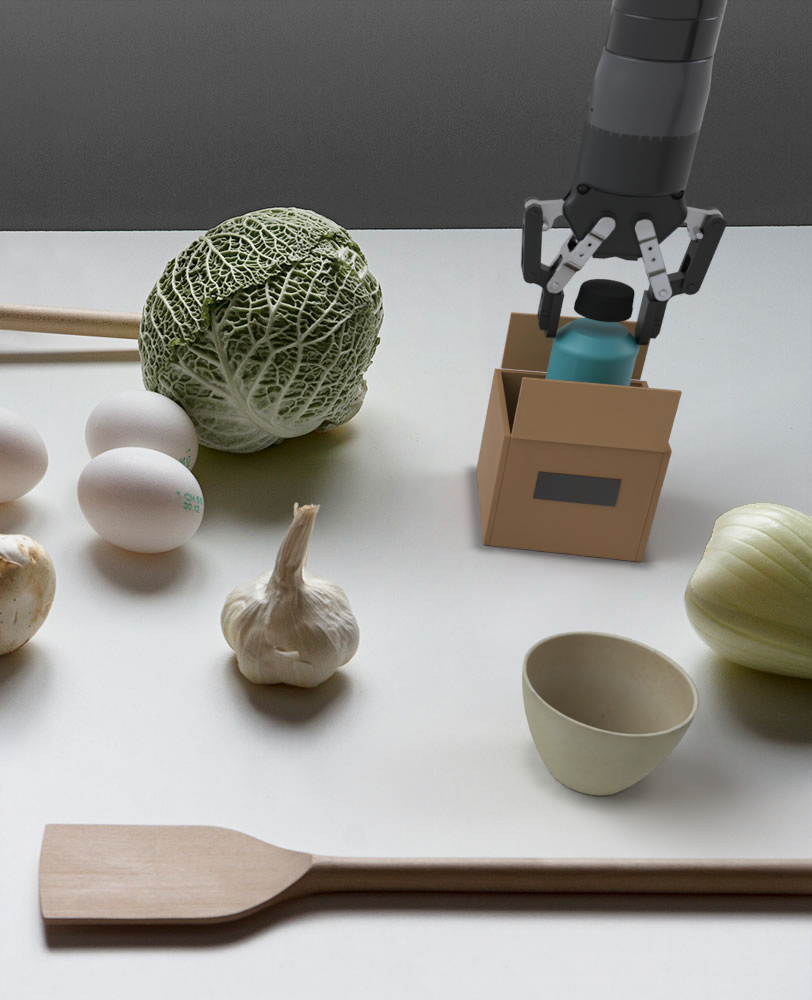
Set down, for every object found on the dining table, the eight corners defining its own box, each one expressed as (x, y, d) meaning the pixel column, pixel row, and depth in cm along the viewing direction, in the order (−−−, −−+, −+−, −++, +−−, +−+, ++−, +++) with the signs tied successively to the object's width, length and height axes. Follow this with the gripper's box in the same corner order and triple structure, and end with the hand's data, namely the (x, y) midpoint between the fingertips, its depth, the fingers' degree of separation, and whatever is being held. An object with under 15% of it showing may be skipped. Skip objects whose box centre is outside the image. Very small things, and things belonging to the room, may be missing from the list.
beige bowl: (657, 727, 85) (683, 640, 81) (683, 837, 77) (714, 747, 73) (499, 705, 87) (517, 620, 83) (508, 811, 79) (529, 721, 75)
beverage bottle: (598, 539, 104) (658, 307, 93) (512, 523, 106) (561, 295, 95) (600, 500, 109) (657, 276, 98) (518, 485, 111) (565, 264, 100)
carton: (619, 483, 112) (660, 323, 104) (642, 564, 101) (689, 392, 93) (475, 469, 114) (504, 311, 106) (483, 547, 103) (515, 378, 96)
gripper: (540, 126, 89) (500, 350, 97) (767, 137, 86) (704, 366, 95) (531, 99, 95) (494, 311, 104) (742, 108, 92) (686, 325, 101)
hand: (595, 336), depth 99 cm, fingers closed on beverage bottle, 6 cm apart
